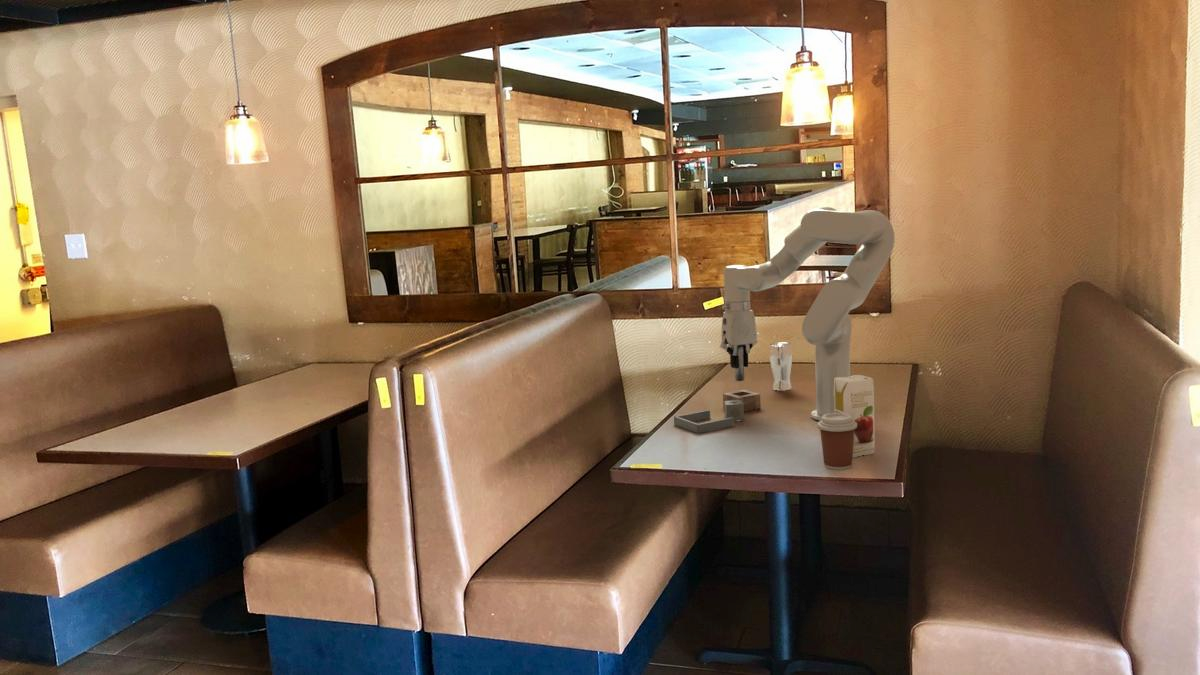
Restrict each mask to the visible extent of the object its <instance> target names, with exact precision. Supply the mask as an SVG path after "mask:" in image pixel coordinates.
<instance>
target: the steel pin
mask: <svg viewBox="0 0 1200 675" xmlns="http://www.w3.org/2000/svg"><path fill="white" fill-rule="evenodd" d="M737 355H738V357H739V368H737V369H736V368H734V380H735V381H736V382H744V381H745V367H744V347H743V345H738V346H737Z"/></svg>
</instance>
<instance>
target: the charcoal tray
mask: <svg viewBox="0 0 1200 675" xmlns="http://www.w3.org/2000/svg"><path fill="white" fill-rule="evenodd" d="M709 419H711V411H710V409H706V410H700V411H696V412H691V413H690V412H689V413H686V414H680V415H676V416H674V417H673V422H674V424H673V425H675V426H676V427H680V428H682V429H685V430H687V431H690V432H693V433H697V434H702V433H706V432H711V431H716V429H717V430H721V429H720V428H722V429H725V428H724V427H726V428H730V427H729V426H731V427H734V426H735V421H734V418H733V417H730V418H721V419H718V420H711V421H707V422H702V423H697V422H698V421H704V420H709ZM733 425H734V426H733Z"/></svg>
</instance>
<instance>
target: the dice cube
mask: <svg viewBox="0 0 1200 675" xmlns="http://www.w3.org/2000/svg"><path fill="white" fill-rule="evenodd" d="M724 403H725V408H724V419H726V418H730V417H733V418H734V422H738V421H737V420H744V421H745V412H744V404H743V402H742V400H735V401H724Z"/></svg>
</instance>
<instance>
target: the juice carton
mask: <svg viewBox="0 0 1200 675" xmlns="http://www.w3.org/2000/svg"><path fill="white" fill-rule="evenodd" d="M874 388H875V387H874V378H873V377H870V376H866V375H861V374H853V375H852V374H851V375H850V376H849V377H839V378H834V413H845V414H849V415H851V416H852V419H853V420H854V421H855V422H856V423H857V428H856V429H854V441H853V456H852V459H853V458H859V457H863V456H862V455H864V456H869V455H873V454H875V446H876V445H875V442H876V438H875V434H876V433H875V431H876V430H875V428H876V427H875V389H874ZM858 456H859V457H858Z"/></svg>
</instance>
